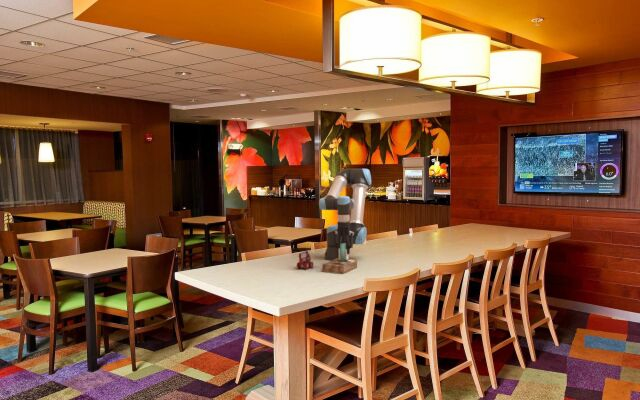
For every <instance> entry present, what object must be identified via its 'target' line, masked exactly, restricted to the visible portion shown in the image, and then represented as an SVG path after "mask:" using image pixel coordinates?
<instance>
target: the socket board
mask: <svg viewBox="0 0 640 400" xmlns="http://www.w3.org/2000/svg"><path fill="white" fill-rule="evenodd" d="M321 269H322V272H324V273H333V274H342V275H344V274H346V273H348V272H350V271H353V270H355V269H358V260H357V259H348V260H347V262H340V259H334V260H328V262H324V263H322V266H321Z"/></svg>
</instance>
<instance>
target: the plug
mask: <svg viewBox="0 0 640 400" xmlns="http://www.w3.org/2000/svg"><path fill="white" fill-rule="evenodd" d="M346 248H347V247H346V243H341V244H340V262H347V260H346Z"/></svg>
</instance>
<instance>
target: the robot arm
mask: <svg viewBox="0 0 640 400" xmlns="http://www.w3.org/2000/svg"><path fill="white" fill-rule="evenodd" d="M347 186H351V188H352V191H353V192H352V198H350V196H348V195H347V196H346V195H344V196H343V195H341V196H340V194H341V193H342V191H343V189H344V188H346V187H347ZM369 186H372V175H371V171H370V169H368V168H346V169H343V170H340V172H338V173H337V174H336V175H335V176H334V178H333V183H332V185H331V186H330V189H329V191H328V192H327V194H326V195H325V197H322V198H320V199H319V202H318V206H319V208H318V209H320V210H321V211H323V210H324V211H337V224H331V225H329V226H327V227H326V250H325V253H324V260H327V261H332V260H334V259H340V244H341V243H346V247H347V248H346V260H349V255H350V253H351V249H353V247H354V245H363V244H364V243H365V242H366V239H367V235H368V234H367V232H368V230H367V229H368V228H367V227H366V225H365V224H364V213H365V203H366V201H365V200H366V194H367V193H366V191H367V190H368V189H369Z"/></svg>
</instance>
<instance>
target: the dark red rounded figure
mask: <svg viewBox="0 0 640 400" xmlns="http://www.w3.org/2000/svg"><path fill="white" fill-rule="evenodd" d="M298 258H299V261H297V262H296V268H297V269H298V270H301V268H302V269H304V270H309V269H312V268H313V267H314V262H313V261H312V259H311V256H310V253H309V251H308V250H305V251H302V252H300V253H298Z"/></svg>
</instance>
